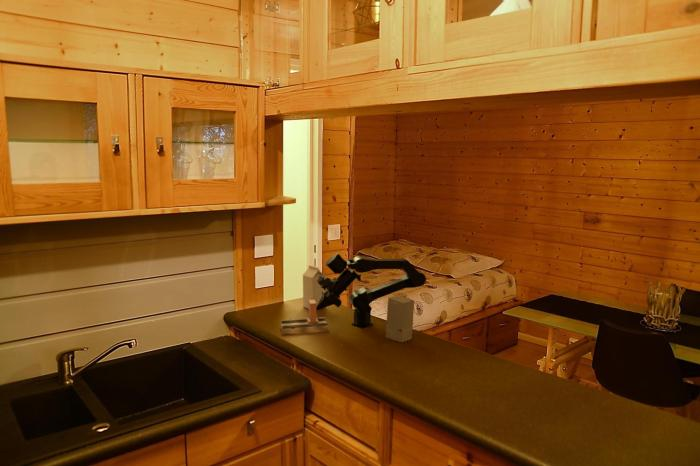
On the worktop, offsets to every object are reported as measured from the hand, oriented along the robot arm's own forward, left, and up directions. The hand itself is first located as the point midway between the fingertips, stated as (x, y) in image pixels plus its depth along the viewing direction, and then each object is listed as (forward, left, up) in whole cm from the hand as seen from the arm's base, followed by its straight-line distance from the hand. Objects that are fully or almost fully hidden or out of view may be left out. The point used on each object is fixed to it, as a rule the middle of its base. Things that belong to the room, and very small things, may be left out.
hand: (316, 309), depth 216 cm
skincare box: (-32, -14, -8) cm, 36 cm away
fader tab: (+1, +1, -5) cm, 6 cm away
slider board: (+3, +4, -8) cm, 9 cm away
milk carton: (+21, -18, -8) cm, 29 cm away
